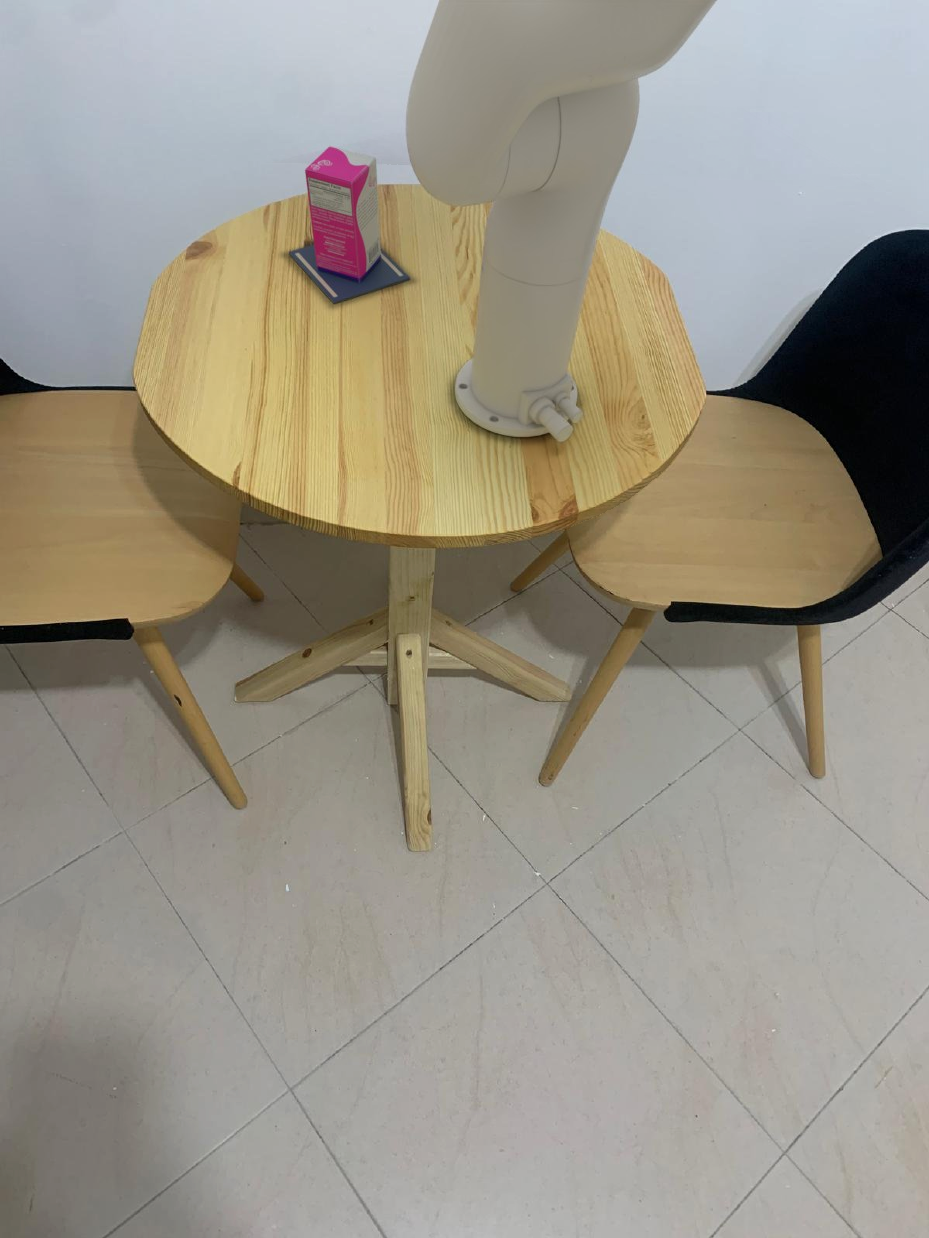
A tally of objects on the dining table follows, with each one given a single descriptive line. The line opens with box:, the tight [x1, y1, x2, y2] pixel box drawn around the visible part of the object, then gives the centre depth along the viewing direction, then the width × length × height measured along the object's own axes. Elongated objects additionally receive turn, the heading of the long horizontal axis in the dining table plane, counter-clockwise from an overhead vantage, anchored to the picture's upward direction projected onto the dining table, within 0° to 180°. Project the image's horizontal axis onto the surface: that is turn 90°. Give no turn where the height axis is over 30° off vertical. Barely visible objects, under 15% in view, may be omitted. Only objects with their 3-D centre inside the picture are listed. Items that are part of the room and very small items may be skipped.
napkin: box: [288, 244, 411, 305], centre depth 90 cm, size 11×10×1 cm
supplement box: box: [304, 145, 382, 283], centre depth 85 cm, size 6×6×12 cm
